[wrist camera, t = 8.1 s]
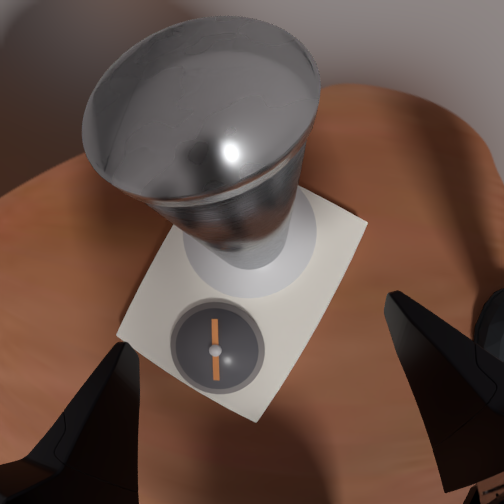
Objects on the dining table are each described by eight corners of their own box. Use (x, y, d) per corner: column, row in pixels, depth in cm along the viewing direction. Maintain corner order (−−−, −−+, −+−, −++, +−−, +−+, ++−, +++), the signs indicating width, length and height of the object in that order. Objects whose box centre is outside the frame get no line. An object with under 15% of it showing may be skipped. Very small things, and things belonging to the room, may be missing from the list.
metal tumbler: (241, 287, 18) (144, 260, 4) (195, 226, 19) (62, 100, 5) (304, 237, 18) (373, 95, 4) (255, 180, 19) (223, -1, 5)
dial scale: (257, 416, 18) (256, 426, 16) (123, 333, 20) (112, 336, 18) (363, 226, 20) (370, 220, 18) (223, 156, 21) (219, 145, 20)
